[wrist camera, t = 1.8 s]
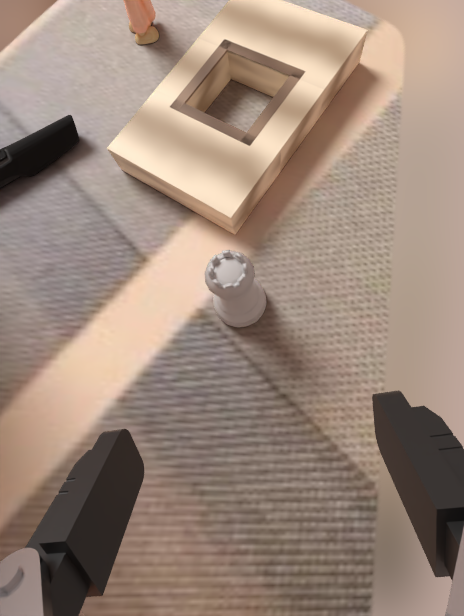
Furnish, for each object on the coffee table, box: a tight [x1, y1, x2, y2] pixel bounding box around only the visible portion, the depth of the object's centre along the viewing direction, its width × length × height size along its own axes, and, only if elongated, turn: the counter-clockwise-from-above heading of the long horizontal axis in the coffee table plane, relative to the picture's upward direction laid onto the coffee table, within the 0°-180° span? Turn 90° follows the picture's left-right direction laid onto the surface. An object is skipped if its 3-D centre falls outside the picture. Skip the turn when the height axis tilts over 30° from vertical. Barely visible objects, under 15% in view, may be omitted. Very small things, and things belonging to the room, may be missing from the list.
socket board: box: [107, 0, 367, 235], centre depth 31 cm, size 22×14×3 cm, turn 145°
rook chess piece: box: [205, 250, 267, 327], centre depth 24 cm, size 4×4×8 cm
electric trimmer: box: [0, 115, 79, 188], centre depth 33 cm, size 4×16×3 cm, turn 118°
